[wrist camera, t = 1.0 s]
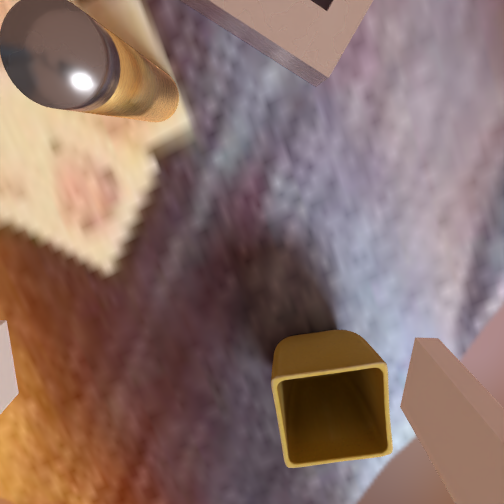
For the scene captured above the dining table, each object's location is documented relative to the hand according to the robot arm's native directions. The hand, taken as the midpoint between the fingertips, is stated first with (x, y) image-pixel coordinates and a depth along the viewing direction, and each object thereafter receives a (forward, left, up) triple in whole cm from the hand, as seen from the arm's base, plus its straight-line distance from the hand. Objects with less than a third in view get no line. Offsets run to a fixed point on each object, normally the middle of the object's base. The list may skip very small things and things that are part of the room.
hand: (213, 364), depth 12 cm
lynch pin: (-11, +6, -22) cm, 25 cm away
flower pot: (+13, -8, -22) cm, 27 cm away
